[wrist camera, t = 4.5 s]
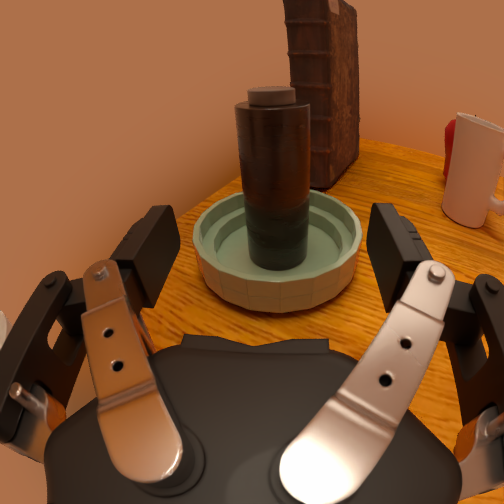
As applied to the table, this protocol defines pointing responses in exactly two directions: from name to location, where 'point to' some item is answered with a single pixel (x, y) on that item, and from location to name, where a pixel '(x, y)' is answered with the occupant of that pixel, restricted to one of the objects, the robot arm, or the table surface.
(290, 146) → the thermos flask
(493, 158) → the mug
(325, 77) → the book
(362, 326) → the table surface
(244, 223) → the celadon bowl
